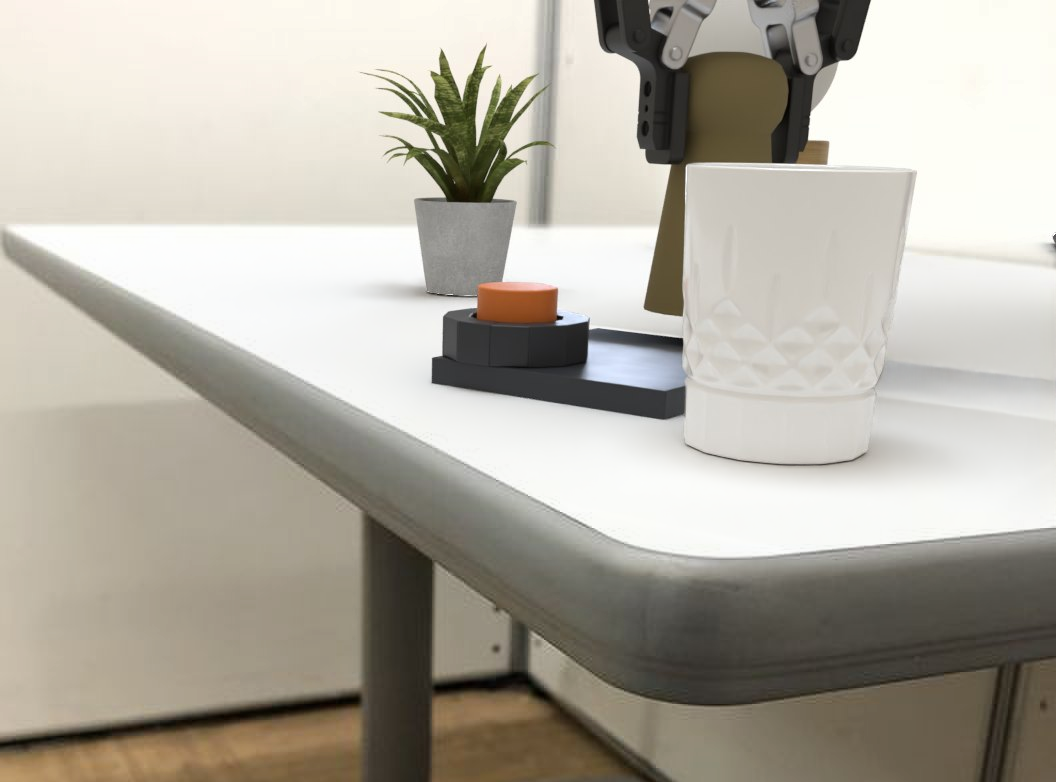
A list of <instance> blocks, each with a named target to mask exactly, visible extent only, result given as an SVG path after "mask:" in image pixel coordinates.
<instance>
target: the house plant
mask: <svg viewBox="0 0 1056 782" xmlns="http://www.w3.org/2000/svg"><path fill="white" fill-rule="evenodd" d="M487 46H488V42H486V43H485V45H484V46H483V48H482V49H481V51H480V52H479V54H478V56H477V59H476V62H475V65H474V67H473V70H472V72H471V73H469V74H468V76H467V78H466V81H465V82H466V83H465V85H464V90H463V94H462V97H461V94H460V91H459V87H458V85H457V83H456V81H455V78H454V75H453V73H452V70H451V67H450V64H449V61H448V59H447V56H446V53H445V52H444V51H443V49H442V48H441V47H439V49H440V51H439V57H438V65H439V73H438V72H435V71H433V70H430V69H429V70H428V71H429V72H430V77H431V79H432V81H433V83H434V95H433V98H434V100H435V102H436V105H437V107H438V109H439V112H440V113H441V114H440V115H441V117H442V120H443V123H441V122H440V120H439V118H438V116H437V114H436V113H435V110H434V108H433V107H432V105H431V104H430V102H429V100H428V99H427V97H426V96H425V95H424V93H423V91H422V90H421V89H420V87H419V86H417V84H415V83H414V81H412V80H411V79H409V78H408V77H406V76H405V75H403V74H401V73H398V72H396V71H393V70H389V69H381V68H380V69H379V68H374V70H376V71H381V72H387V73H391V74H395V75H398V76H400V77H402V78H403V79H405V80H407V81H408V82H409V83H410V84H411V85H412V86H413V88H414V90H415V91H416V92H415V91H414V90H413V91H412V90H409V89H408V88H407V87H405V85H403V84H400V83H398V82H396V81H395V80H393V79H390V78H387V77H385V76H381V75H379V74H378V75H377V74H374V73H367V72H362V71H359V73H360V74H364V75H368V76H372V77H376V78H379V79H381V80H384V81H387V82H388V83H390V84H392V85H393V86H394V87H396V88H398V90H400V91H401V92H400V91H398V90H396V89H394V88H393V89H392V88H388V87H375V89H378V90H382V91H383V90H384V91H388V92H391V93H393V94H394V95H396V96H398V98H400V99H401V100H402V102H404V103H405V104H406V105H407V106H408V107H409V109H410V110H411V111H412V112H413V113H414V114H411V113H404V112H398V111H397V112H393V111H379V113H380V114H382V115H385V116H387V117H389V118H394V119H399V120H403V121H406V122H409V123H411V124H414V125H416V126H418V127H420V128H422V129H424V131H425V132H426V134H427V136H428V138H429V140H430V142H431V145H432V146H433V148H424V147H417V146H414V145H412V144H411V143H410V142H408V141H407V140H405V139H403V138H401V137H398V136H396V135H391V134H385V135H383V138H384V137H385V138H391V139H395V140H397V141H399V142H401V144H403V145H402V146H397V147H393V148H391V149H389V150H387V151H385V153H384V154H383V155H382V156H381V158H382V157H384V156H387V154H389V153H391V152H393V151H396V150H397V151H398V150H401V149H407V150H408V152H407V153H404V152H397V153H394V154H393V155H391V156H390V158H388V161H387V162H386V164H388V163H389V162H390V161H391V160H392V159H394V158H396V157H402V156H405V159H404V163H403V167H404V166H405V164H406V163H407V162H408V161H409V160H410V159H412V158H414V159H415V160H416V161H417V162H418V163H419V164H420V165H421V166H422V167H423V169H424V170H425V171H426V172H427V173H428V175H429V176H430V177H431V178H432V180H434V182H435V183H436V185H437V186H438V187H439V188H440V190H441V191H442V193H443V195H444V197H443V196H442V197H437V196H436V197H418V198H414V199H413V204H414V208H415V209H414V211H415V218H416V224H417V231H418V240H419V247H420V254H421V262H422V267H423V274H424V275H423V276H424V282H425V290H426V292H427V291H429V292H432V293H439V294H453V295H478V285H480V284H484V283H492V282H503V280H504V274H505V268H506V263H507V258H508V252H509V247H510V241H511V236H512V232H513V225H514V220H515V214H516V210H517V204H518V202H517V200H513V199H503V198H495V197H494V196H495V195H496V192H497V190H498V188H499V186H500V185H501V183H502V181H503V180H504V178H505V177H506V176H507V175H508V174H509V173H510V172H511V171H513V170H514V169H515V168H517V167H518V166H520V165H521V164H523V163H525V164H526V165H528V159H527V160H523V159H521V158H517V157H513V156H514V155H516V154H518V153H519V152H521V151H523V150H526V149H528V148H531V147H535V146H550V147H553V148H556V146H555V145H554V144H552V143H550V142H549V141H545V140H536V141H532V142H529V143H527V144H525V145H522V146H520V147H519V148H518V149H516V150H514V151H512V152H511V153H510V154H509V155H508V147H507V144H506V142H505V139H506V137H507V136H508V133H509V132H510V131H511V129H512V127H513V126H514V124H516V123H517V121H518V120H519V118H521V116H522V115H523V114H524V113H525V112H526V110H527V109H528V108H529V107H530V106H531V105H532V103H533V102H534V100H535V99H536V98H537V97H538V96H539V95H541V94H542V93H544V91H545V90H546V89H547V88H548V87H549V86H550V85H551V83H549V84H547V85H546V86H545V87H543V88H542V89H540V90H538V91H537V92H536V93H535V94H534V95H532V97H531V98H529V100H528V101H527V102H526V103H525V104H524V105H523V106H522V107H521V108H520V109H519V110H518V111H517V112H516V113H515V114H514V112H515V109H516V107H517V105H518V103H519V101H520V99H521V98H522V96H523V94H524V92H525V91H526V89H527V88H528V86H529V85H530V83H531V82H532V81H533V80H534V79H535V78H536V77H537V76H538V75H539V73H540V72H538V73H535V74H533V75H531V76H527V77H525V78H524V79H523V80H521V81H520V82H519V83H518V84H517V85H516V86H514V87H513V85H512V83H511V84H510V86H509V88H507V91H506V93H505V96H503V98H502V99H501V101H500V98H501V92H502V77H501V73H498V76H497V78H496V81H495V85H494V86H493V89H492V91H491V96H490V99H489V100H490V101H489V104H488V107H487V110H486V113H485V117H484V120H483V123H482V127H481V131H480V135H479V139H478V142H477V124H476V123H477V122H476V118H477V106H478V97H479V91H480V85H481V83H482V80H483V78H484V75H485V73H486V71H487V70H488V69H489V68H491V67H493V66H494V65H487V66H483V63H484V59H485V53H486V50H487ZM355 72H358V71H355ZM402 92H403V93H404V94H403V93H402ZM406 95H407V96H408V97H407V96H406ZM419 97H420V99H419ZM412 101H413V102H412ZM499 101H500V102H499ZM414 103H415V104H414ZM417 106H418V107H417ZM419 109H420V110H421V111H422V113H423V114H424V115H425V116H426V117H424V116H423V114H422V113H421V111H420V110H419ZM513 114H514V116H513ZM434 134H435V135H436V136H439V137H440V139H441V142H442V143H443V145H444V147H445V149H446V150H445V149H443V148H440V146H439V143H438V141H437V140H436V138H435V136H434ZM378 136H380V137H382V135H378ZM429 151H431V152H433V153H434V154H436V156H438V158H439V160H440V162H441V164H442V165H441V164H440V163H439V162H438V160H436V159H435V158H433V156H432V155H431V154H430V153H429ZM507 155H508V156H507Z"/></svg>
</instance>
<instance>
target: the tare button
mask: <svg viewBox="0 0 1056 782" xmlns="http://www.w3.org/2000/svg"><path fill="white" fill-rule="evenodd" d="M476 297H477V298H476V300H477V301H476V308H477V319H481V320H490V321H498V322H517V323H532V322H552V321H557V310H558V301H559V299H558V297H559V288H558V286H555V285H552V284H548V283H539V282H527V281H526V282H525V281H524V282H523V281H502V282H492V283H484V284H480V285H478V296H476Z"/></svg>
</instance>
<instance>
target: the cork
mask: <svg viewBox="0 0 1056 782" xmlns="http://www.w3.org/2000/svg"><path fill="white" fill-rule="evenodd" d="M682 73H690V87H689V100H688V114H687V128H686V142H685V155H684V159H683V161H682V163H681V164H679V165H670V168H669V172H668V173H669V174H668V179H667V184H666V189H665V194H664V199H663V205H662V210H661V215H660V219H659V225H658V230H657V235H656V241H655V245H654V251H653V256H652V261H651V266H650V271H649V276H648V282H647V287H646V292H645V297H644V303H643V310H645V311H647V312H650V313H655V314H659V315H664V316H673V317H681V318H683V309H684V298H683V287H682V285H683V263H684V233H685V196H686V165H687V164H689V163H772V150H771V134H772V132H773V131H774V130H775V128H776V127H777V126H778V124H779V123H780V122H781V120H782V118H783V115H784V112H785V109H786V106H787V100H788V91H789V90H788V83H787V76H786V74H785V72H784V70H783V68H782V66H781V65H780V64H779V63H778V62H776V61H775V60H774V59H770V58H767V57H764V56H761V55H757V54H753V53H748V52H709V53H704V54H699V55H696V56H692V57H688V59H687V61H686V63H685V64H684V65H683V66H682Z"/></svg>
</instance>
